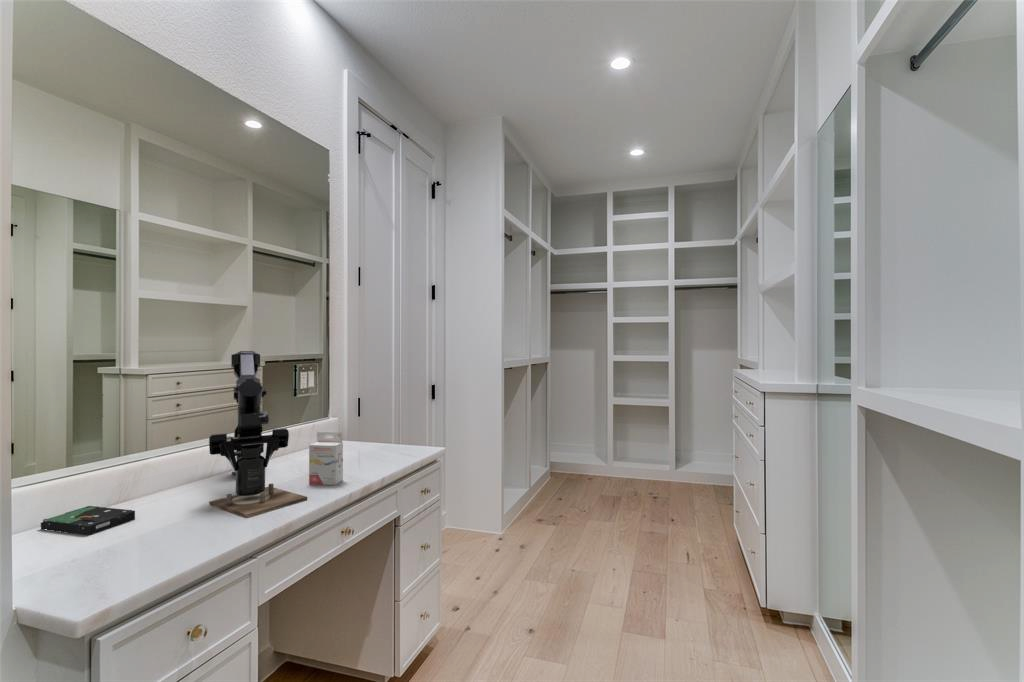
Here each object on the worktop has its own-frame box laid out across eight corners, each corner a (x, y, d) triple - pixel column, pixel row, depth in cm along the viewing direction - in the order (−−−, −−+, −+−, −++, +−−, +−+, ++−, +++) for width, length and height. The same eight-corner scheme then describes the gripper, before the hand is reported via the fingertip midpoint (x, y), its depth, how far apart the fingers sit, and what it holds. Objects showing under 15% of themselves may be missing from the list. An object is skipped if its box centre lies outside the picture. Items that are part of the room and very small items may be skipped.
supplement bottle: (268, 488, 132) (270, 444, 132) (259, 496, 125) (261, 449, 125) (241, 489, 131) (242, 444, 131) (230, 497, 124) (232, 449, 124)
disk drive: (136, 521, 116) (88, 516, 119) (136, 510, 116) (89, 504, 119) (89, 538, 106) (38, 532, 109) (89, 525, 106) (38, 519, 109)
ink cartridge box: (308, 484, 144) (307, 434, 144) (316, 479, 149) (316, 431, 149) (336, 485, 143) (335, 434, 143) (343, 480, 148) (343, 431, 148)
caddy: (209, 504, 126) (209, 491, 126) (269, 489, 139) (268, 477, 139) (246, 517, 116) (246, 503, 116) (307, 499, 129) (307, 487, 129)
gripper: (209, 403, 127) (207, 455, 117) (288, 399, 136) (292, 446, 127) (210, 429, 134) (209, 479, 124) (285, 423, 143) (289, 469, 133)
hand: (250, 468), depth 127 cm, fingers closed on supplement bottle, 7 cm apart
